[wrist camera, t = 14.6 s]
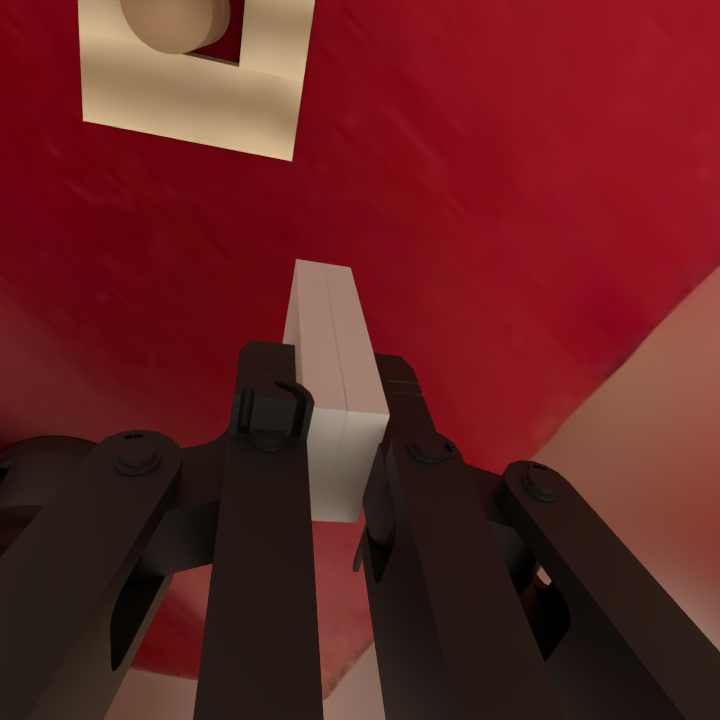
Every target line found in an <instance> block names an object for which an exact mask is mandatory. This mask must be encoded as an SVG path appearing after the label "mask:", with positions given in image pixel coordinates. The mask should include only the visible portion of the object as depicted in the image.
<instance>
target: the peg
mask: <svg viewBox="0 0 720 720" xmlns="http://www.w3.org/2000/svg"><path fill="white" fill-rule="evenodd" d="M120 4H121V8H122V12H123V15H124V17H125V19H126V21H127V23H128V25H129V27H130V28H131V30H132V31H133V32H134V34H135V35H136V36H137V37H138V38H139V39H140V40H141V41H142V42H143V43H145V44H146V45H147V46H149V47H150V48H152V49H154V50H156V51H159V52H162V53H165V54H182V53H186V52H189V51H192V50H195V49H198V48H201V47H204V46H206V45H209V44H212V43H214V42H216V41H217V40H219V39H220V38H221V37H222V36H223V35H224V33H225V32H226V30H227V28H228V25H229V21H230V3H229V0H120Z"/></svg>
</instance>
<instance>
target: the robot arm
mask: <svg viewBox="0 0 720 720" xmlns="http://www.w3.org/2000/svg"><path fill="white" fill-rule="evenodd" d="M362 505H363V506H364V512H365V518H366V524H365V527H364V530H363V533H362V537H361V540H360V543H359V546H358V549H357V552H356V556H355V559H354V563H353V572H358V571H359V568H360V565H361V561H362V559H363V564H364V571H365V578H366V585H367V592H368V599H369V606H370V613H371V620H372V627H373V634H374V641H375V648H376V655H377V662H378V669H379V676H380V683H381V690H382V696H383V704H384V711H385V718H386V720H720V652H719V650H718V649H717V648H716V647H715V646H714V645H713V644H712V643H711V641H710V640H709V639H708V638H707V637H706V636H705V635H704V634H703V633H702V631H701V630H700V629H699V628H698V627H697V626H696V625H695V623H694V622H693V621H692V620H691V619H690V618H689V617H688V616H687V614H686V613H685V612H684V611H683V610H682V609H681V608H680V607H679V605H678V604H677V603H676V602H675V601H674V600H673V599H672V598H671V596H670V595H669V594H668V593H667V592H666V591H665V590H664V589H663V587H662V586H661V585H660V584H659V583H658V582H657V581H656V580H655V578H653V576H652V575H651V574H650V573H649V572H648V571H647V569H646V568H645V567H644V566H643V565H642V564H641V563H640V562H639V560H637V558H636V557H635V556H634V555H633V554H632V553H631V551H630V550H629V549H628V548H627V547H626V546H625V545H624V544H623V543H622V541H621V540H620V539H619V538H618V537H617V536H616V535H615V533H614V532H613V531H612V530H611V529H610V528H609V527H608V526H607V524H606V523H605V522H604V521H603V520H602V519H601V518H600V517H599V516H598V514H597V513H596V512H595V511H594V510H593V509H592V508H591V507H590V505H589V504H588V503H587V502H586V501H585V500H584V499H583V497H582V496H581V495H580V494H579V493H578V492H577V491H576V490H575V488H574V487H573V486H572V485H571V484H570V483H569V482H568V481H567V480H566V479H565V478H564V477H562V476H561V475H560V474H559V473H558V472H556V471H554V470H552V469H551V468H549V467H547V466H545V465H542V464H539V463H536V462H533V461H522V460H519V461H516V462H513V463H510V464H509V465H508V467H507V468H506V469H505V471H504V473H503V475H502V476H501V475H498V474H495V473H492V472H489V471H486V470H483V469H479V468H476V467H474V466H471V465H469V464H466V463H464V460H463V458H462V455H461V453H460V452H459V450H458V448H457V447H456V445H455V444H454V443H453V442H451V441H450V440H449V439H448V438H446V437H445V436H444V435H441V434H439V433H437V432H436V429H435V427H434V424H433V421H432V419H431V416H430V413H429V410H428V408H427V405H426V402H425V399H424V397H422V391H421V389H420V386H418V380H417V378H416V375H415V372H414V370H413V368H412V367H411V366H410V365H409V364H408V363H407V362H406V361H405V360H404V359H403V358H402V357H401V356H392V355H384V354H376V353H373V350H372V346H371V343H370V339H369V335H368V331H367V328H366V324H365V320H364V316H363V313H362V309H361V305H360V301H359V298H358V294H357V290H356V286H355V283H354V279H353V275H352V271H351V268H350V267H344V266H337V265H331V264H324V263H318V262H312V261H305V260H299V259H296V264H295V270H294V276H293V282H292V289H291V295H290V301H289V307H288V313H287V319H286V325H285V332H284V338H283V343H274V342H266V341H258V340H250V341H249V342H248V343H247V344H246V345H245V346H244V347H243V348H242V349H241V350H240V354H239V362H238V369H237V377H236V385H235V392H234V394H233V402H232V411H231V420H230V424H229V427H228V429H227V430H226V431H225V432H224V434H222V435H221V436H220V437H218V438H217V439H215V440H213V441H211V442H208V443H206V444H203V445H198V446H194V447H187V448H181V449H180V447H179V445H178V444H177V443H175V442H174V441H173V440H172V439H171V438H170V437H168V436H166V435H163V434H161V433H158V432H156V431H147V430H132V431H124V432H120V433H118V434H115V435H112V436H110V437H107V438H105V439H104V440H103V441H102V442H100V443H99V444H98V445H96V444H93V443H90V442H87V441H83V440H79V439H74V438H67V437H39V438H33V439H28V440H25V441H21V442H19V443H16V444H14V445H12V446H10V447H8V448H6V449H5V450H3V451H2V452H1V453H0V720H104V717H105V715H106V713H107V711H108V709H109V707H110V705H111V703H112V701H113V699H114V697H115V695H116V693H117V691H118V689H119V687H120V685H121V683H122V681H123V679H124V677H125V675H126V673H127V670H128V669H129V667H130V664H131V662H132V660H133V658H134V656H135V654H136V652H137V650H138V648H139V646H140V644H141V642H142V640H143V638H144V636H145V634H146V632H147V630H148V628H149V626H150V624H151V622H152V620H153V618H154V616H155V613H156V611H157V609H158V607H159V605H160V603H161V601H162V599H163V597H164V595H165V593H166V591H167V589H168V587H169V585H170V583H171V581H172V579H173V575H174V573H176V572H180V571H184V570H188V569H192V568H196V567H200V566H204V565H208V564H212V563H213V565H212V573H211V581H210V589H209V597H208V605H207V613H206V621H205V629H204V636H203V644H202V652H201V660H200V668H199V676H198V685H197V692H196V700H195V708H194V717H193V720H324V719H323V703H322V685H321V669H320V652H319V635H318V619H317V602H316V585H315V569H314V552H313V535H312V521H330V522H348V523H357V522H358V519H359V515H360V512H361V509H362ZM541 566H542V568H543V569H544V570H545V572H546V573H547V575H548V576H549V577H550V579H551V580H552V581H551V583H550V584H549V585H546V584H544V583H543V582H542V580H541V579H540V578H539V577H538V575H537V573H538V571H539V569H540V567H541Z"/></svg>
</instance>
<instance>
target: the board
mask: <svg viewBox="0 0 720 720" xmlns="http://www.w3.org/2000/svg"><path fill="white" fill-rule="evenodd" d="M314 4H315V0H245V7H244V19H243V30H242V41H241V52H240V63H236V62H232V61H228V60H223V59H219V58H214V57H210V56H206V55H201V54H197V53H193V52H186V53H182V54H165V53H162V52H159V51H156V50H154V49H152V48H150V47H149V46H147V45H146V44H145V43H143V42H142V41H141V40H140V39H139V38H138V37H137V36H136V35H135V34H134V32H133V31H132V30H131V28H130V27H129V25H128V23H127V21H126V19H125V17H124V15H123V12H122V8H121V4H120V0H78V13H79V36H80V59H81V82H82V104H83V121H88V122H93V123H98V124H103V125H108V126H113V127H119V128H124V129H129V130H134V131H139V132H144V133H149V134H154V135H160V136H165V137H170V138H175V139H180V140H185V141H190V142H195V143H201V144H206V145H211V146H216V147H221V148H226V149H231V150H236V151H242V152H247V153H252V154H257V155H262V156H267V157H272V158H277V159H283V160H288V161H292V156H293V149H294V142H295V135H296V128H297V122H298V115H299V108H300V101H301V94H302V87H303V80H304V73H305V66H306V59H307V52H308V45H309V38H310V31H311V24H312V17H313V10H314Z"/></svg>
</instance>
